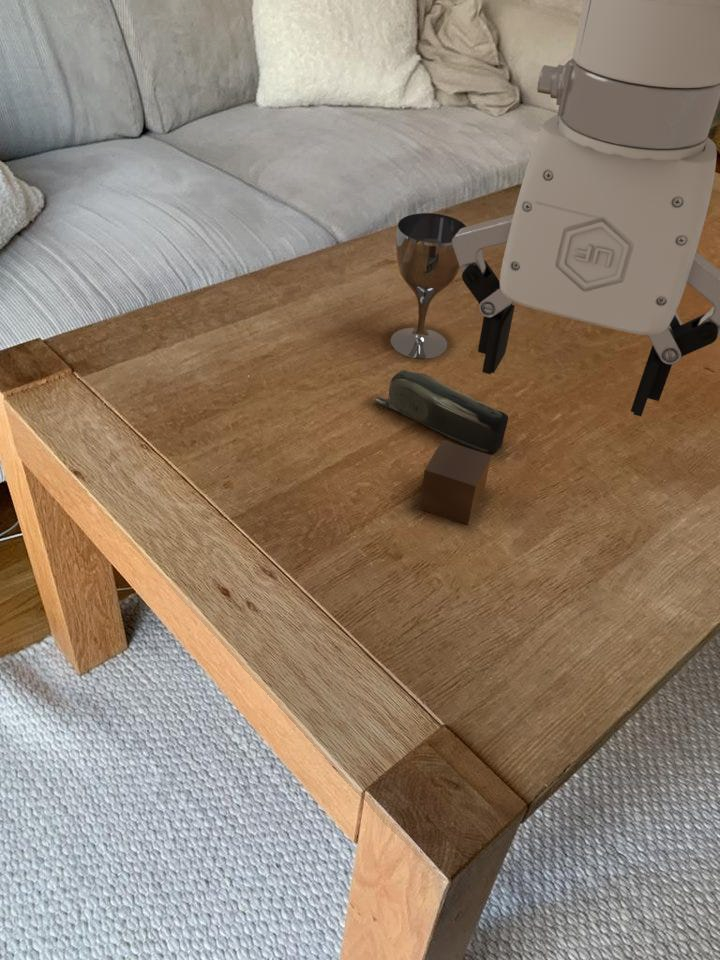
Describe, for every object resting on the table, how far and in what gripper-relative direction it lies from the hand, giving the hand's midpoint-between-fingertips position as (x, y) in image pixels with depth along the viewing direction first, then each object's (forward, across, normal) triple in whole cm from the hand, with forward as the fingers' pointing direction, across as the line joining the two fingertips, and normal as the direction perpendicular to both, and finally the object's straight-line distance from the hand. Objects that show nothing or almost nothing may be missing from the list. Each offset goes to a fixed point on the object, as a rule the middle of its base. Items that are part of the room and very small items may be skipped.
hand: (564, 383), depth 53 cm
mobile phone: (+24, -14, +23) cm, 36 cm away
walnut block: (+24, -9, +12) cm, 28 cm away
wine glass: (+24, -22, +38) cm, 50 cm away
